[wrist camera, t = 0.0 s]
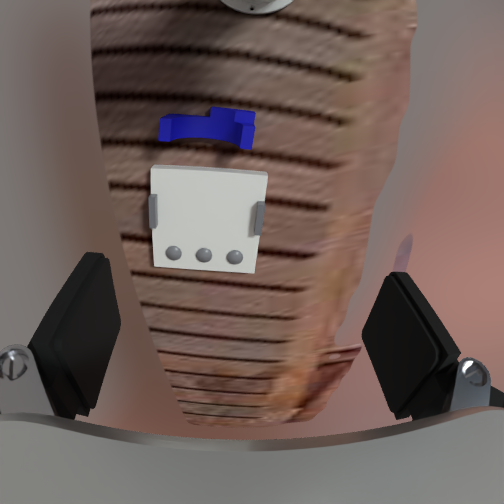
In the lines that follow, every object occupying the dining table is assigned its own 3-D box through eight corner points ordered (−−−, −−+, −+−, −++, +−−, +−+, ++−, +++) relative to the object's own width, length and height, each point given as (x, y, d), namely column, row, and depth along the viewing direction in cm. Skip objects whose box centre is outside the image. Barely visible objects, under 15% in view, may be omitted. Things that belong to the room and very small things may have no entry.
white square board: (154, 164, 43) (148, 171, 40) (266, 172, 45) (269, 179, 42) (156, 260, 52) (152, 271, 49) (253, 266, 54) (254, 278, 51)
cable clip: (254, 111, 40) (257, 115, 35) (249, 141, 42) (251, 149, 37) (170, 103, 39) (161, 106, 34) (167, 133, 41) (158, 140, 36)
